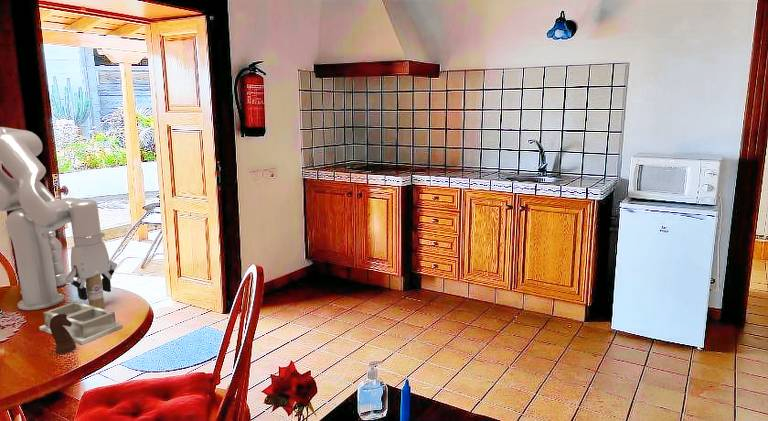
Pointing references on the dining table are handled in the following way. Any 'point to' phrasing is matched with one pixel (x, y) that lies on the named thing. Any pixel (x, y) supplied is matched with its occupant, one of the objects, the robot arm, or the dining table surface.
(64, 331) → the chess piece
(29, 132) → the robot arm
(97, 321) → the slot rack
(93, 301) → the sprinkles bottle
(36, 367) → the dining table surface
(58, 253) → the plastic bottle
